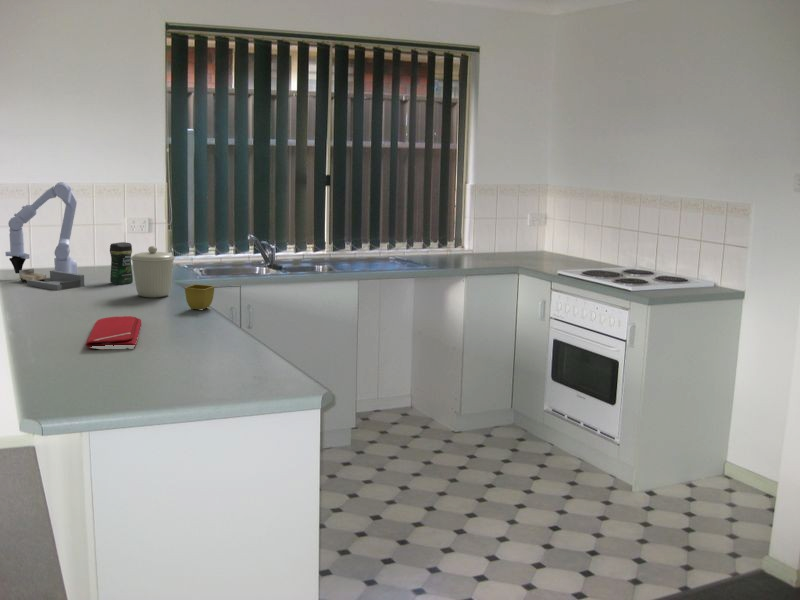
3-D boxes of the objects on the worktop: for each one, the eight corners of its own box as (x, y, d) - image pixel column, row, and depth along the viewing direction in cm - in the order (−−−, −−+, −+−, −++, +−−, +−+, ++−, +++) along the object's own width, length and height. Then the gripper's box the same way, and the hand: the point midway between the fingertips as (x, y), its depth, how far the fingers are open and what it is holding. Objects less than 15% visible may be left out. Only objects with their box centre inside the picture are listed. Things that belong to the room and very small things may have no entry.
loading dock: (54, 282, 404) (53, 270, 403) (84, 287, 393) (84, 274, 392) (27, 286, 392) (26, 274, 391) (57, 291, 381) (57, 278, 380)
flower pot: (215, 307, 352) (215, 285, 351) (204, 312, 344) (204, 289, 342) (195, 306, 355) (195, 284, 353) (184, 310, 346) (184, 287, 345)
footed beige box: (33, 279, 406) (33, 268, 405) (46, 281, 401) (46, 270, 400) (19, 281, 399) (18, 270, 398) (32, 284, 395) (31, 272, 394)
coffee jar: (119, 285, 397) (117, 244, 393) (107, 283, 401) (106, 242, 398) (136, 282, 405) (135, 242, 401) (124, 280, 409) (123, 240, 406)
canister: (122, 296, 371) (120, 246, 367) (152, 290, 387) (151, 242, 383) (155, 301, 363) (153, 250, 359) (185, 294, 378) (184, 245, 375)
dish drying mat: (142, 323, 323) (141, 313, 323) (136, 350, 284) (136, 339, 284) (96, 324, 320) (96, 314, 319) (84, 352, 281) (84, 341, 280)
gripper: (-2, 242, 403) (0, 272, 405) (19, 245, 395) (20, 275, 398) (12, 241, 409) (14, 270, 411) (32, 244, 401) (34, 273, 404)
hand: (18, 273), depth 405 cm, fingers closed
